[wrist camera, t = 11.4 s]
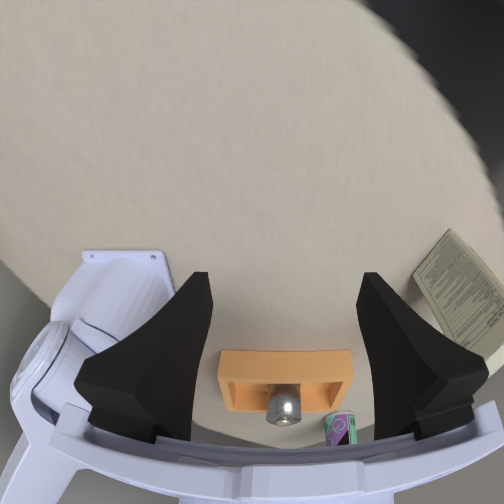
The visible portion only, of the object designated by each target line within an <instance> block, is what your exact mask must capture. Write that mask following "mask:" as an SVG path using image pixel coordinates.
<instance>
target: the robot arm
mask: <svg viewBox="0 0 504 504" xmlns="http://www.w3.org/2000/svg"><path fill="white" fill-rule="evenodd" d="M81 255H82V258H83V261H84V262H83V263H82V264H81V265H80V267H79V268H78V269H77V270H76V272H75V273H74V274H73V275H72V277H71V278H70V279H69V281H68V282H67V283H66V284H65V286H64V287H63V288H62V290H61V291H60V292H59V294H58V295H57V297H56V298H55V300H54V303H53V306H52V310H51V322H50V323H49V324H48V325H46V326H45V327H44V329H43V330H42V331H41V332H40V333H39V335H38V336H37V337H36V339H35V340H34V341H33V343H32V344H31V346H30V347H29V349H28V351H27V352H26V354H25V356H24V358H23V360H22V362H21V364H20V366H19V369H18V371H17V373H16V374H15V376H14V378H13V380H12V383H11V386H10V402H11V405H12V408H13V410H14V413H15V415H16V417H17V419H18V421H19V423H20V425H21V427H22V429H23V431H24V432H23V434H22V435H21V438H20V439H19V441H18V443H17V445H16V447H15V448H14V450H13V452H12V454H11V456H10V458H9V460H8V462H7V464H6V467H5V468H4V471H3V473H2V475H1V477H0V504H57V502H58V500H59V499H60V497H61V495H62V494H63V492H64V490H65V489H66V487H67V485H68V484H69V482H70V481H71V479H72V477H73V476H74V474H75V472H76V471H77V470H79V469H86V468H90V469H92V470H94V471H97V472H99V473H102V474H104V475H106V476H109V477H112V478H114V479H117V480H120V481H123V482H125V483H128V484H131V485H134V486H137V487H140V488H144V489H147V490H151V491H154V492H158V493H161V494H166V495H169V496H174V497H178V498H179V504H394V496H393V493H395V492H399V491H402V490H406V489H409V488H412V487H415V486H418V485H421V484H424V483H427V482H429V481H432V480H435V479H437V478H440V477H443V476H445V475H447V474H450V473H452V472H454V471H456V470H459V469H461V468H463V467H465V466H468V465H470V464H471V463H474V462H476V461H477V460H479V459H481V458H483V457H485V456H486V455H488V454H490V453H491V452H493V451H495V450H496V449H498V448H500V447H501V446H503V445H504V431H503V427H502V424H501V421H500V417H499V414H498V411H497V407H496V404H495V402H494V400H492V401H490V402H487V403H485V404H482V405H480V406H478V407H476V408H474V409H472V406H471V404H472V403H474V399H473V396H472V395H473V394H474V393H475V392H476V391H477V390H478V389H479V388H480V387H481V386H482V385H483V384H484V383H485V382H486V380H487V379H488V377H489V370H488V368H487V365H486V363H485V361H484V358H483V357H482V356H480V355H478V354H476V353H474V352H472V351H470V350H467V349H466V348H464V347H462V346H460V345H459V344H457V343H455V342H454V341H452V340H450V339H449V338H447V337H446V336H444V335H443V334H442V333H440V332H439V331H437V330H436V329H435V328H433V327H432V326H431V325H430V324H428V323H427V322H426V321H425V320H424V319H422V318H421V317H420V316H419V315H418V314H417V313H416V312H415V311H414V310H413V309H412V308H410V307H409V306H408V305H407V304H406V303H405V302H404V301H403V300H402V299H401V297H400V296H399V295H398V294H397V293H396V292H395V291H394V290H393V289H392V288H391V287H390V286H389V285H388V284H387V283H386V282H385V281H384V280H383V278H382V277H381V276H380V275H379V274H378V273H377V272H366V273H364V276H363V280H362V284H361V288H360V292H359V296H358V299H357V303H356V308H357V315H358V321H359V326H360V329H361V333H362V336H363V340H364V344H365V347H366V351H367V355H368V358H369V362H370V367H371V374H372V382H373V393H374V411H375V430H374V441H370V442H364V443H357V444H349V445H341V446H331V447H319V448H298V449H262V448H261V449H259V448H241V447H229V446H218V445H210V444H202V443H195V442H190V438H191V422H192V411H193V401H194V393H195V385H196V379H197V372H198V367H199V363H200V359H201V355H202V352H203V348H204V345H205V341H206V338H207V334H208V330H209V327H210V323H211V317H212V310H213V300H212V295H211V289H210V283H209V278H208V272H194V273H193V274H192V275H191V276H190V277H189V279H188V280H187V281H186V282H185V283H184V284H183V286H182V287H181V288H180V289H179V290H178V291H177V292H176V293H175V292H174V288H173V285H172V281H171V277H170V274H169V270H168V266H167V262H166V258H165V255H164V253H163V252H161V251H83V252H82V254H81ZM152 255H154V256H155V257H156V258H155V257H153V256H152ZM215 463H216V464H215ZM217 464H226V465H237V466H238V465H239V466H244V467H218V465H217Z"/></svg>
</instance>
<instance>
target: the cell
mask: <svg viewBox="0 0 504 504" xmlns="http://www.w3.org/2000/svg"><path fill="white" fill-rule="evenodd" d="M266 420H267V422H269V423H271V424H275V425H278V426H289V425H292V424H296V423H298V422H300V421H301V384H268V402H267V418H266Z"/></svg>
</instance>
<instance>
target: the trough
mask: <svg viewBox="0 0 504 504" xmlns="http://www.w3.org/2000/svg"><path fill="white" fill-rule="evenodd" d="M353 378H354V373H353V367H352V362H351V356H350V351H349V350H333V351H302V352H267V351H235V350H222V351H221V356H220V362H219V368H218V373H217V379H218V382H219V386H220V389H221V392H222V396H223V399H224V402H225V405H226V409H227V411H233V412H249V413H267V402H268V384H301V413H314V412H330V411H336V410H337V408H338V407H339V405H340V403H341V401H342V399H343V397H344V395H345V393H346V392H347V390H348V388H349V386H350V384H351V382H352V380H353Z"/></svg>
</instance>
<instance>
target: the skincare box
mask: <svg viewBox="0 0 504 504" xmlns="http://www.w3.org/2000/svg"><path fill="white" fill-rule="evenodd" d="M412 276H413V278H414V280H415V281H416V283H417V285H418V287H419V288H420V290H421V292H422V293H423V295H424V297H425V299H426V301H427V302H428V304H429V306H430V308H431V310H432V312H433V313H434V315H435V317H436V319H437V321H438V323H439V325H440V327H441V329H442V331H443V333H444V335H445V336H446V337H447V338H449V339H450V340H452V341H454V342H455V343H457V344H459V345H460V346H462V347H464V348H466V349H467V350H470V351H472V352H474V353H476V354H478V355H480V356H482V357H483V358H484V361H485V363H486V365H487V368H488V370H489V377H490V376H491V375H492V374H494V373H495V372H496V371H497V370H498V369H499V368H500V367H501V366H503V365H504V286H503V285H502V284H501V282H500V281H499V280H498V278H497V277H496V276H495V275H494V274H493V272H492V271H491V270H490V269H489V268H488V266H487V265H486V264H485V263H484V262H483V260H482V259H481V258H480V257H479V256H478V255H477V254H476V252H475V251H474V250H473V249H472V248H471V247H470V246H469V245H468V244H467V243H466V242H465V241H464V240H463V239H462V238H461V237H460V235H459V234H458V233H456V232H455V231H454V230H453V229H452V228H451V229H449V230H448V232H447V233H446V234H445V235H444V237H443V238H442V239H441V240H440V242H439V243H438V244H437V246H436V247H435V248H434V249H433V251H432V252H431V253H430V254H429V255H428V257H427V258H426V259H425V260H424V262H423V263H422V264H421V265H420V266H419V268H418V269H417V270H416V271H415V272H414V274H413V275H412ZM489 377H488V378H489Z"/></svg>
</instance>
